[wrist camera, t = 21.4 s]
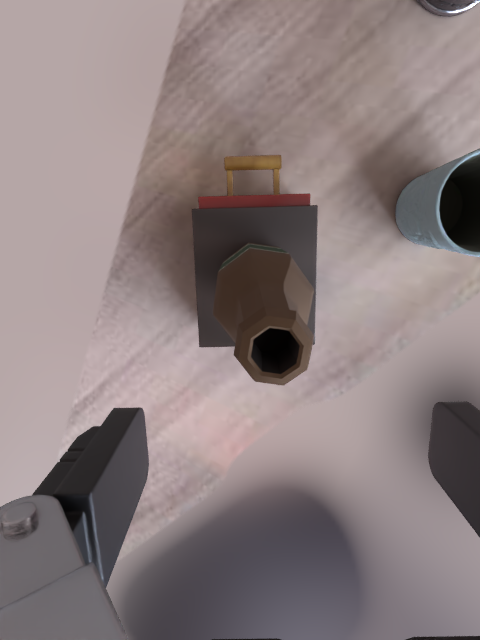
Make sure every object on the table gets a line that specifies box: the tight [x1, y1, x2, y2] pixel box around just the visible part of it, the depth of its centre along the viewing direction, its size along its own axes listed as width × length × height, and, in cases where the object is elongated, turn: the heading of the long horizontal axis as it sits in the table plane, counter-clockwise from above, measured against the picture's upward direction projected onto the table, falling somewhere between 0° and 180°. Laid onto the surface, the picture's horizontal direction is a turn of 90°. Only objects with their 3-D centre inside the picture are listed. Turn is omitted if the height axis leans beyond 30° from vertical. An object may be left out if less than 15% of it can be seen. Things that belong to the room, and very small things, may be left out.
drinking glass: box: [395, 149, 480, 257], centre depth 42 cm, size 10×10×12 cm
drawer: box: [198, 155, 310, 209], centre depth 44 cm, size 18×11×8 cm, turn 2°
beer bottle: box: [213, 243, 314, 385], centre depth 28 cm, size 8×8×24 cm
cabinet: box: [192, 205, 318, 347], centre depth 45 cm, size 15×13×10 cm
